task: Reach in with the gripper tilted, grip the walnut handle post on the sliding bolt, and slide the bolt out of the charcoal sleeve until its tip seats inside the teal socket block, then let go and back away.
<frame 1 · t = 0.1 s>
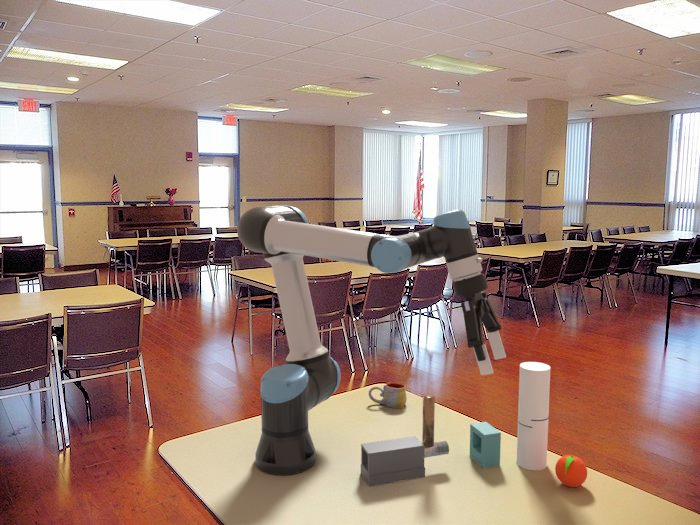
hand: (494, 366, 132), 28 cm above the table, fingers open, 13 cm apart
mug: (387, 405, 183), on the table
end socket: (484, 460, 145), on the table
cylindrical container: (531, 464, 143), on the table
sliding bolt: (412, 429, 138), point 11 cm above the table, slide at 0.0 cm
outer sleeve: (392, 475, 138), on the table
clementine: (569, 486, 132), on the table
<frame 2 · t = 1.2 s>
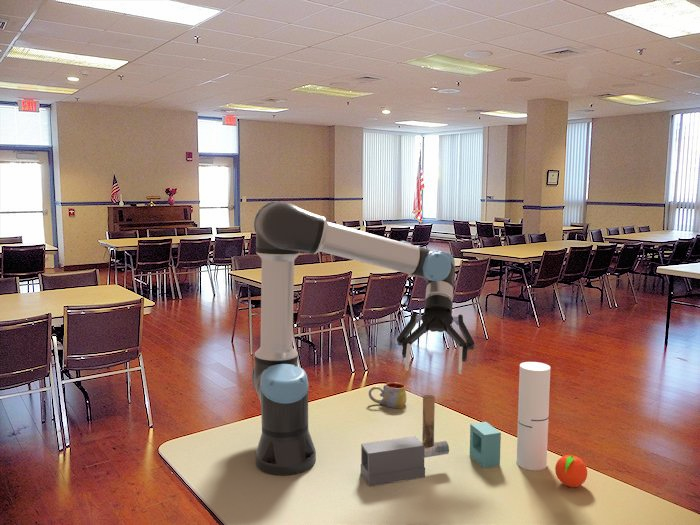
hand: (433, 370, 148), 22 cm above the table, fingers open, 13 cm apart
nothing on the table moved.
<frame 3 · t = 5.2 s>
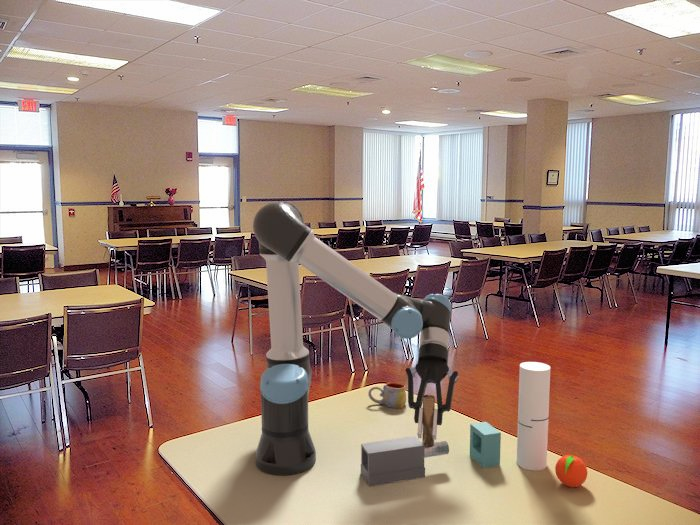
hand: (426, 436, 135), 10 cm above the table, fingers closed on sliding bolt, 3 cm apart
sliding bolt: (412, 429, 138), point 11 cm above the table, slide at 0.0 cm, touching gripper
everything else where it was.
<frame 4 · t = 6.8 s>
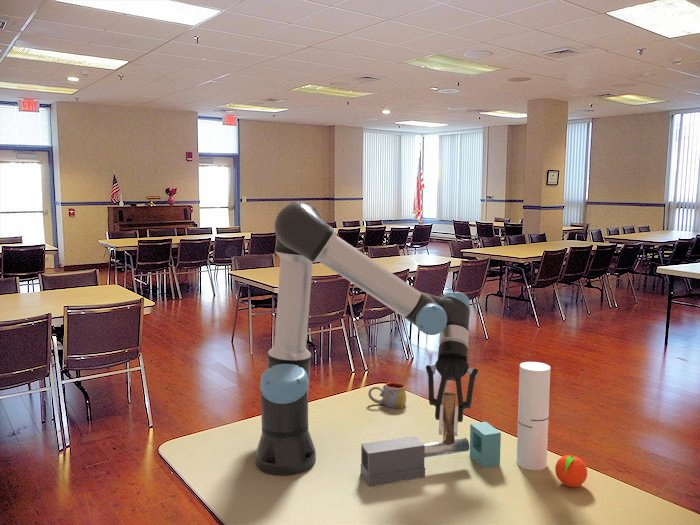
hand: (447, 433, 137), 10 cm above the table, fingers closed on sliding bolt, 3 cm apart
sliding bolt: (433, 426, 139), point 11 cm above the table, slide at 5.5 cm, touching gripper
everything else where it was.
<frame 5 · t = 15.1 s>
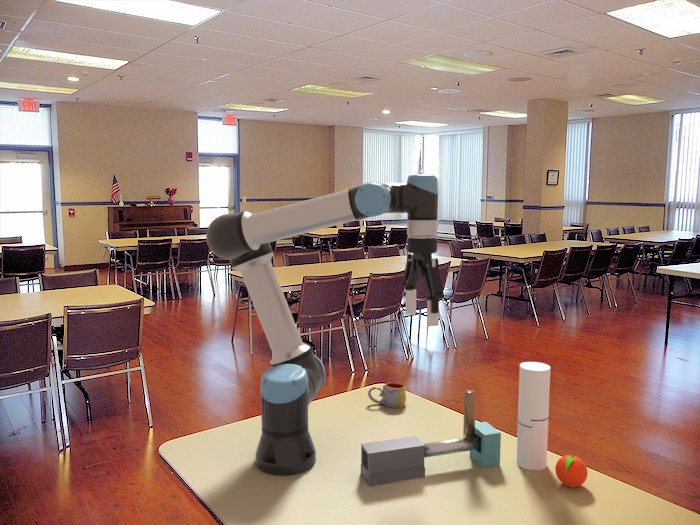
hand: (421, 319, 147), 35 cm above the table, fingers open, 13 cm apart
sliding bolt: (453, 423, 141), point 11 cm above the table, slide at 11.0 cm
everything else where it was.
at the end: sliding bolt slide at 11.0 cm; the gripper is holding nothing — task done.
